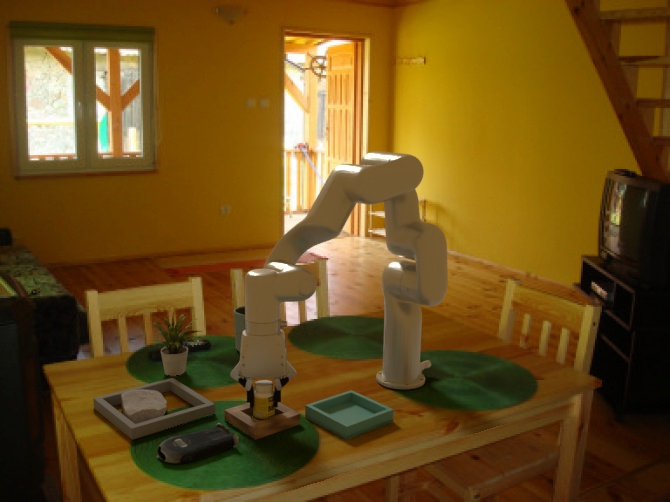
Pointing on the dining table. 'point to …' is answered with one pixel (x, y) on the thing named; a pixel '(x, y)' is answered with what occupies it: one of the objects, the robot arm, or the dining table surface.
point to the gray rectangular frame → (161, 423)
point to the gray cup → (239, 325)
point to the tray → (349, 414)
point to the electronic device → (197, 444)
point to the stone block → (143, 405)
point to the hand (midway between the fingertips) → (264, 404)
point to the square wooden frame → (259, 429)
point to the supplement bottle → (263, 400)
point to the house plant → (174, 346)
